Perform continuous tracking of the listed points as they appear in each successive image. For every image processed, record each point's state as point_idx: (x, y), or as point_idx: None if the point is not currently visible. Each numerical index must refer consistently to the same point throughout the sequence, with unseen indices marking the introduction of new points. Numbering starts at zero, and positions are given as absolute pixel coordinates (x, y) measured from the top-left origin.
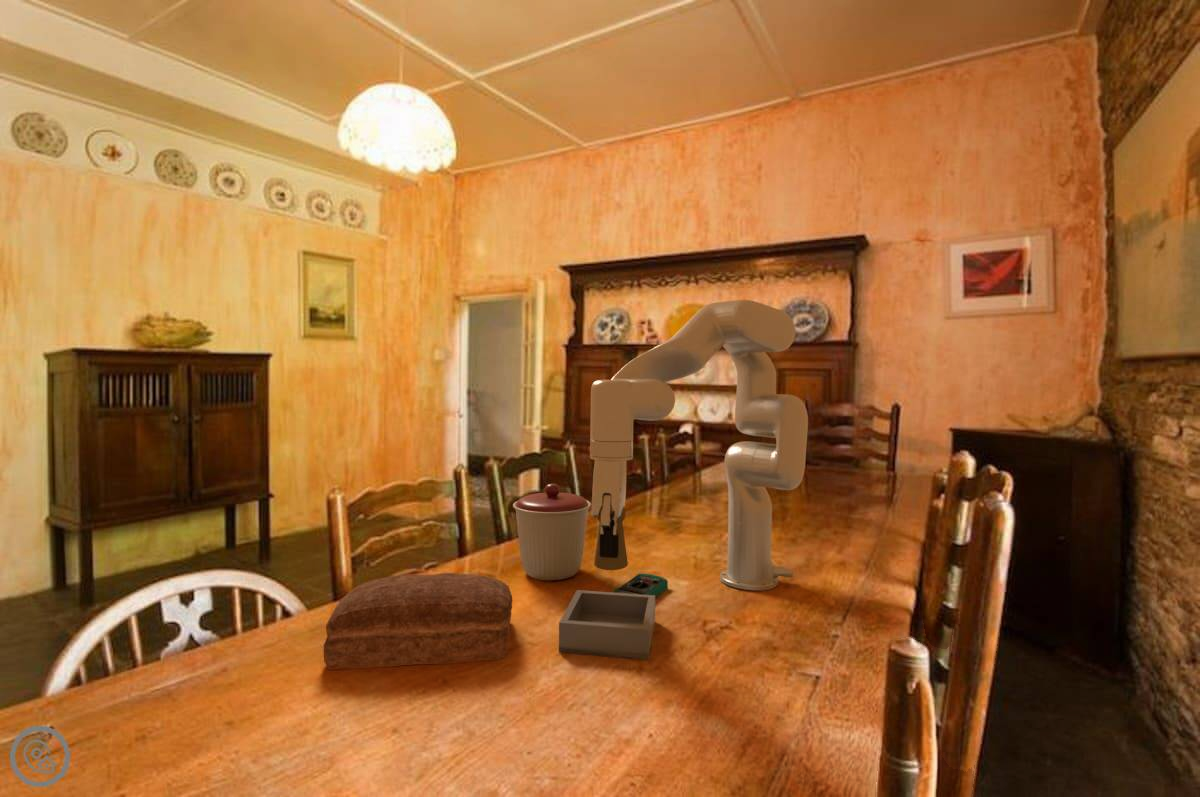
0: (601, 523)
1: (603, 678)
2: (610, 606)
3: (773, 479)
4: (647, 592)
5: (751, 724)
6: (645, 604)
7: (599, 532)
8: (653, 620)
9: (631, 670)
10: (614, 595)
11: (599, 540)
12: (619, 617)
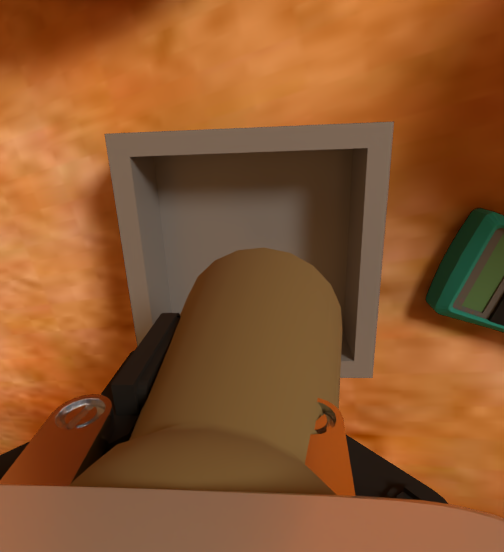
0: (10, 479)
1: (65, 262)
2: (353, 242)
3: None
4: (498, 327)
5: None
6: (350, 342)
7: (173, 370)
8: None
9: (114, 310)
10: (360, 263)
11: (178, 341)
12: (339, 261)
